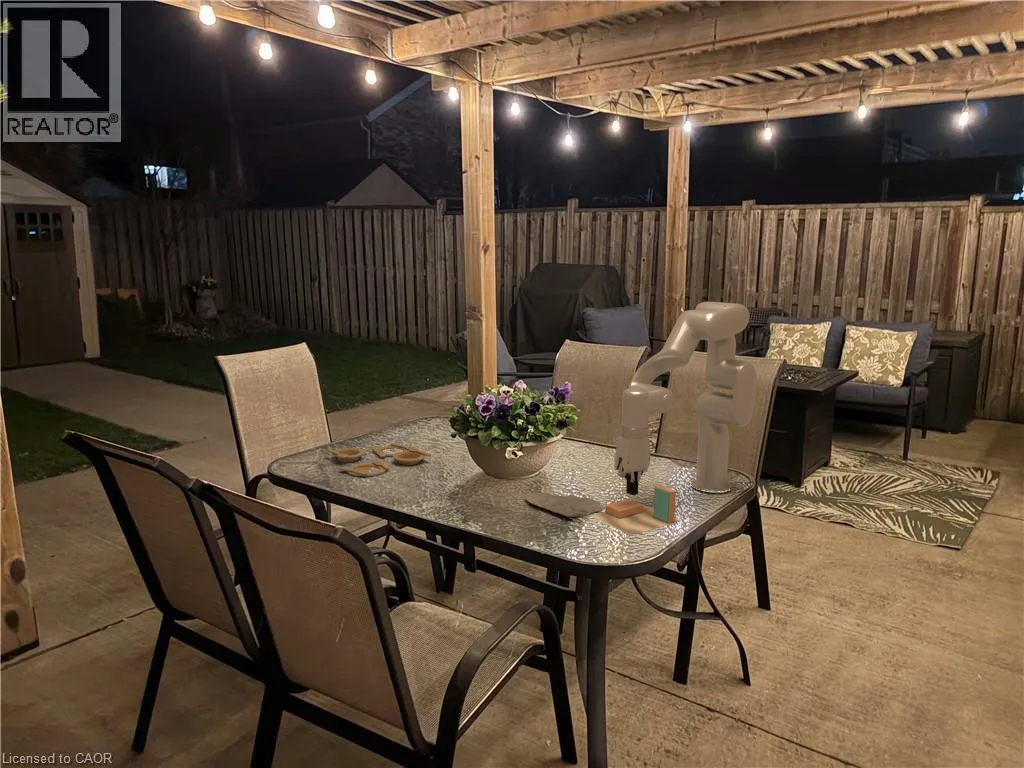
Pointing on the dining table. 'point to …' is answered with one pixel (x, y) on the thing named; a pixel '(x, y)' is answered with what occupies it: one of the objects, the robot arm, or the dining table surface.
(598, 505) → the stone tool
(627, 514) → the tile
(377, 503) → the dining table surface
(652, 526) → the board
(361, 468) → the tableware set
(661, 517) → the tile
